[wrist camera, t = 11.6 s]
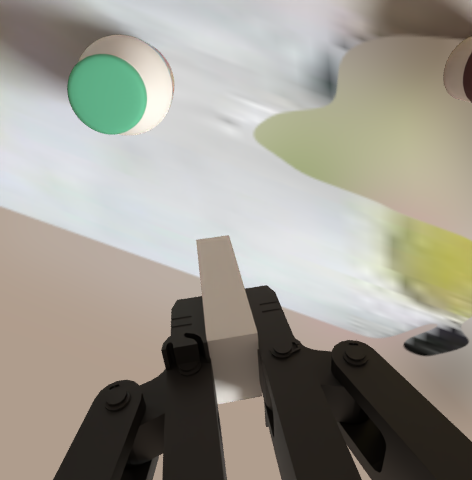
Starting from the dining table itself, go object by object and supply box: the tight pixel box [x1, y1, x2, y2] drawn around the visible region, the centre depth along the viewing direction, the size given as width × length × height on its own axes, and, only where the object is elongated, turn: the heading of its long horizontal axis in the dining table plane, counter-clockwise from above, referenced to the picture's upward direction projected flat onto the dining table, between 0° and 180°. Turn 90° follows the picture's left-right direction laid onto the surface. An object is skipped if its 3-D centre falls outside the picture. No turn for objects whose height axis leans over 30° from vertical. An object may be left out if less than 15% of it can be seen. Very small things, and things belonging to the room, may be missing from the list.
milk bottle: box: [67, 35, 174, 135], centre depth 30 cm, size 8×8×20 cm
